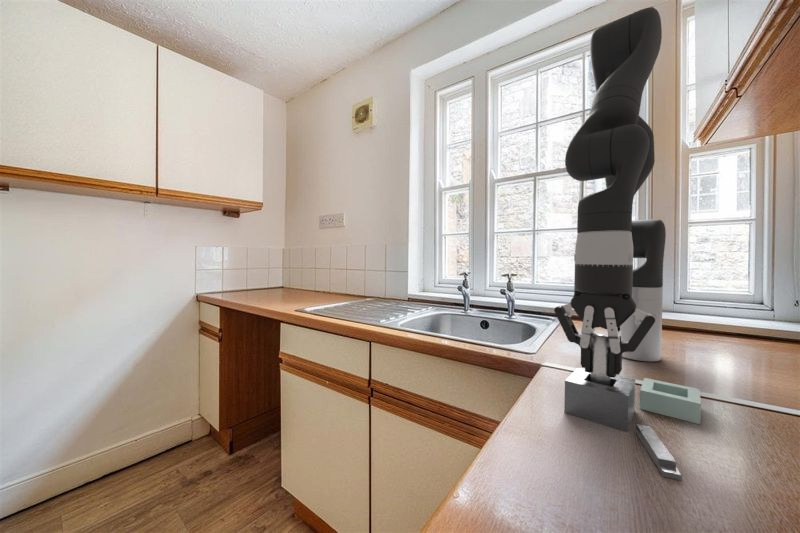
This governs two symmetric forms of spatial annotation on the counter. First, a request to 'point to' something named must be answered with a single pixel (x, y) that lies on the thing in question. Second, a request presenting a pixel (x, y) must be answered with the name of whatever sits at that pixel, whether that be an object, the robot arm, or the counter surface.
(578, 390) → the socket
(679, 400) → the box
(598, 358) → the peg
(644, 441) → the bar
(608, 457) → the counter surface
